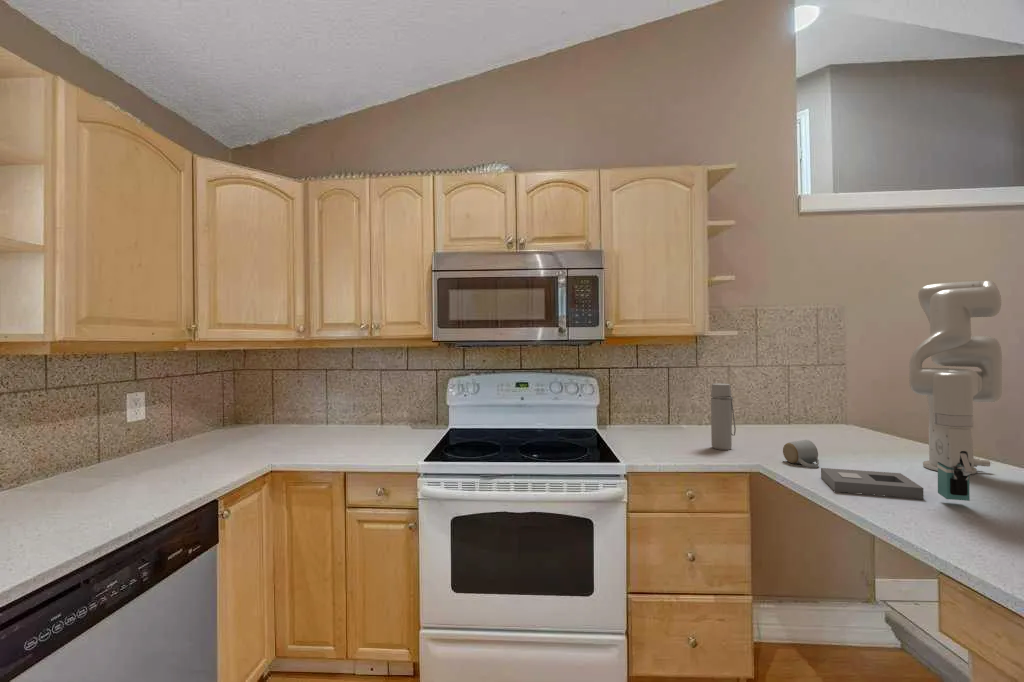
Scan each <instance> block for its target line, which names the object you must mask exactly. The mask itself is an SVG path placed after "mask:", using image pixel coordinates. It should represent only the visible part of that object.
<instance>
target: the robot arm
mask: <svg viewBox="0 0 1024 682" xmlns="http://www.w3.org/2000/svg"><path fill="white" fill-rule="evenodd" d="M917 295H918V301H919V304H920V307H921V309H922V311H923V312H924V314H925V316H926V318H927V320H928V323H929V336H928V337H927V338H925V340H924V339H923V341H921V342H920V344H918V345H917V347H916V348H915V349H914V350H913V351H912V353H911V356H910V358H909V365H908V367H909V368H908V369H909V370H908V371H909V373H908V384H909V387H910V390H911V391H912V392H913V393H914V394H916V395H920V396H926V398H927V407H928V408H927V409H928V460H925V461H923V462H922V466H923V467H924V468H926V469H929V470H930V471H936V472H938V467H937V464H938V463H941V464H943V465H945V466H947V467H951V472H952V478H950V493H951V494H952V495H963V496H967V495H968V481H967V480H968V476H969V477H970V475H975V474H977V472H978V471H977V467H978V466H981V467H989V468H990V466H991V461H990V460H989V459H988V460H987V459H979V458H974V443H973V434H972V429H974V403H995V402H998V401H999V400H1000V399H1001V397H1002V393H1003V363H1002V361H1003V358H1002V357H1003V356H1002V347H1001V344H1000V342H999V341H998V339H997V338H995V337H992V336H986V335H984V336H983V335H972V324H971V318H990V317H995V316H997V315H999V313H1000V311H1001V309H1002V308H1001V307H1002V296H1001V293H1000V290H999V288H998V286H997V284H996V283H995V282H994V281H992V280H989V279H988V280H973V281H972V280H971V281H970V280H969V281H967V280H966V281H953V282H951V281H950V282H940V283H939V282H938V283H931V284H926V285H924V286H922V287H921V288H919V290H918V294H917ZM928 358H930V359H931V361H932V362H933V363H932V364H934V365H937V366H941V367H923V363H924V362H925V361H926V360H927V359H928ZM942 366H943V367H944V368H943V367H942ZM947 367H958V368H947ZM959 367H963V368H959ZM966 367H967V368H966ZM969 367H970V368H977V369H978V368H979V369H980V371H979V370H973V369H969ZM957 464H960V465H961V466H962V467H955V466H956V465H957ZM956 469H961V471H958V472H956Z"/></svg>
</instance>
